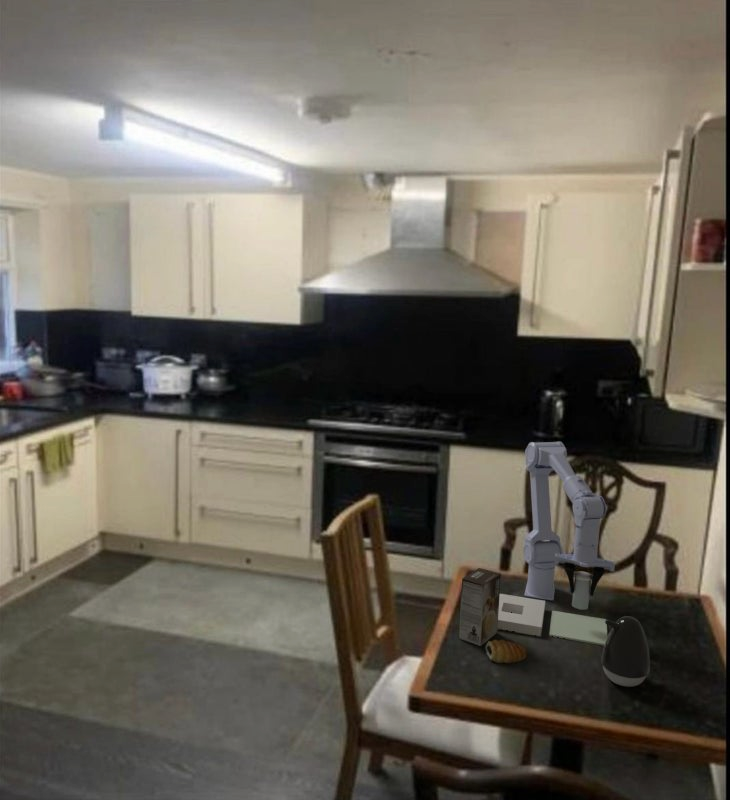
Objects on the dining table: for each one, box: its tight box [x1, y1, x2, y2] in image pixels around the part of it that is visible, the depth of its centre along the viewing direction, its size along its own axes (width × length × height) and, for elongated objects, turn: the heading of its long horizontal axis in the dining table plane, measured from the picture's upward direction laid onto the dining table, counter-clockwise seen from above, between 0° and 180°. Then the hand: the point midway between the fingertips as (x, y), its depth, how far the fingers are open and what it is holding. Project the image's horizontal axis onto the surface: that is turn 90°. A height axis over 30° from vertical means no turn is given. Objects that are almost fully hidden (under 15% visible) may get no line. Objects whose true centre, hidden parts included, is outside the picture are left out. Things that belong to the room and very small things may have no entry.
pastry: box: [485, 639, 527, 664], centre depth 168 cm, size 9×7×4 cm
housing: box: [497, 593, 546, 637], centre depth 188 cm, size 16×16×2 cm
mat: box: [548, 610, 608, 647], centre depth 184 cm, size 14×14×1 cm
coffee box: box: [458, 567, 502, 647], centre depth 177 cm, size 9×6×16 cm
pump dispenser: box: [600, 615, 651, 688], centre depth 159 cm, size 10×10×15 cm
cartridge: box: [571, 570, 592, 610], centre depth 182 cm, size 4×4×8 cm
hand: (581, 592), depth 182 cm, fingers closed on cartridge, 4 cm apart
